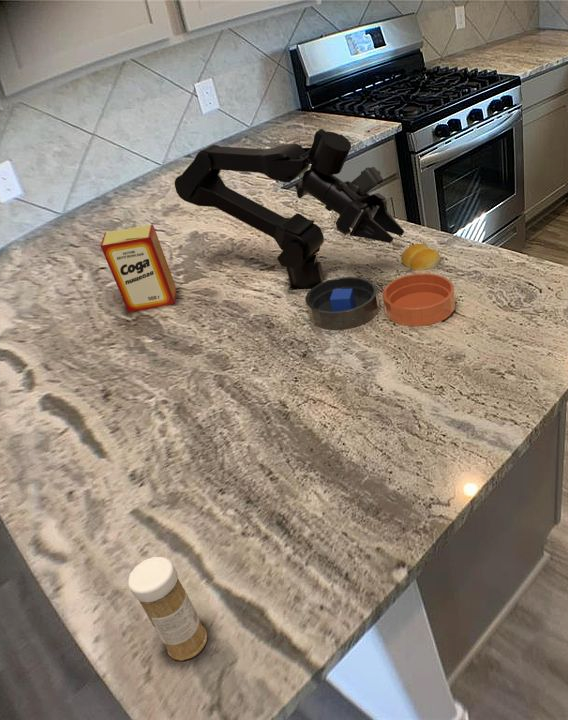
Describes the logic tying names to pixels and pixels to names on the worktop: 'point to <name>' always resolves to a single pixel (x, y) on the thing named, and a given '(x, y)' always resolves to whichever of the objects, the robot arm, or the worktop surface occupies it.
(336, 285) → the charcoal bowl
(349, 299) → the blue block
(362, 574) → the worktop surface
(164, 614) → the sprinkles bottle
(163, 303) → the baking soda box
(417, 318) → the terracotta bowl
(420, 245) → the bread roll
